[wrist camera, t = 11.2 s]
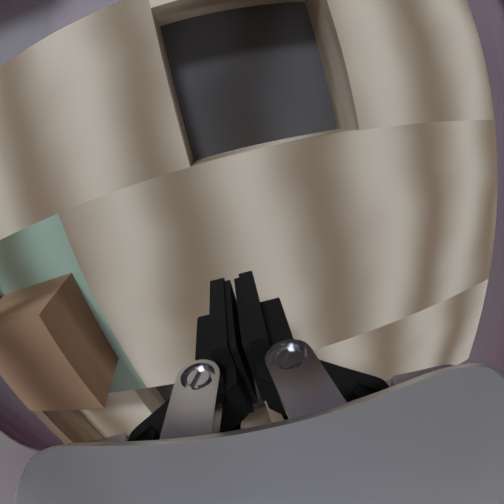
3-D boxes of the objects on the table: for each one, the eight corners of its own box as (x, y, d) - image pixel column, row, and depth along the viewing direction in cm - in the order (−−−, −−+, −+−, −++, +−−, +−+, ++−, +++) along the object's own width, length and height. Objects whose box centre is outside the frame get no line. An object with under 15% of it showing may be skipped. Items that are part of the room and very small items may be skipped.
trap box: (438, 3, 12) (494, -14, 7) (452, 340, 24) (485, 377, 19) (-36, 120, 11) (-95, 129, 6) (120, 432, 24) (112, 482, 18)
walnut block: (71, 272, 14) (38, 314, 10) (118, 358, 16) (104, 408, 12) (3, 295, 14) (-29, 332, 10) (49, 368, 16) (30, 410, 12)
